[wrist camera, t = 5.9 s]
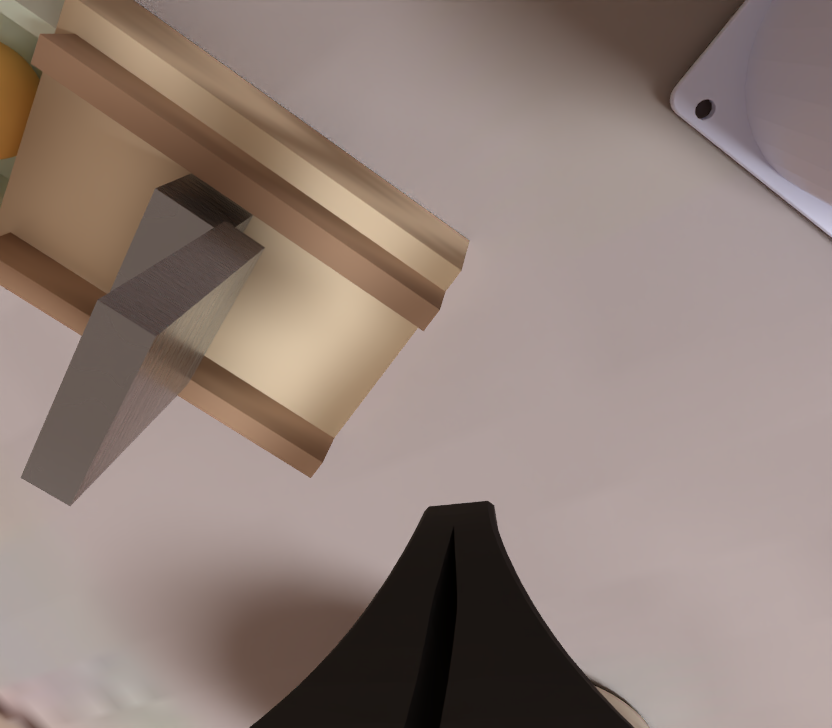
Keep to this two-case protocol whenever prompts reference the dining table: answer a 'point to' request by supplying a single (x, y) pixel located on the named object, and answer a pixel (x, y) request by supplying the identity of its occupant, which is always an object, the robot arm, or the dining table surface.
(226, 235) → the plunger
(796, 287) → the dining table surface
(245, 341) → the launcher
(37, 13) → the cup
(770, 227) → the dining table surface
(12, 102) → the ball
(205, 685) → the dining table surface
